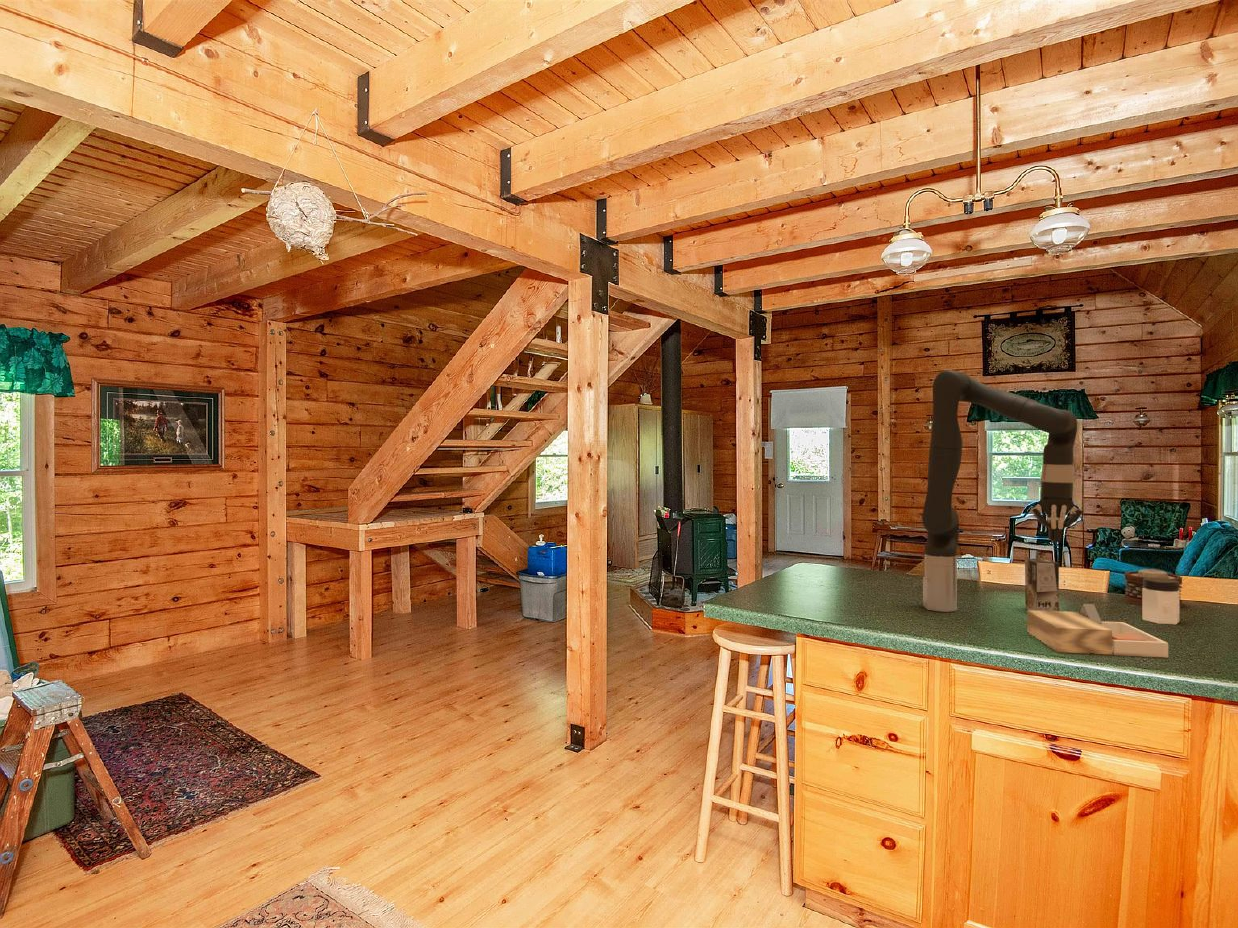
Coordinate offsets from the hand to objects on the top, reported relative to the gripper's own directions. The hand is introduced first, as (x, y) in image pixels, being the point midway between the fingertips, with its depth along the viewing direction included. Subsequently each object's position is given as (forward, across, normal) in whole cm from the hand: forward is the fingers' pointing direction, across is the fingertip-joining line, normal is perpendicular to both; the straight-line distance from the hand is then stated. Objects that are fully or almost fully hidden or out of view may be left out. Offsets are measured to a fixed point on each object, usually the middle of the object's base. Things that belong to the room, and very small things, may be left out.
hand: (1054, 541), depth 188 cm
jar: (+24, +33, +13) cm, 43 cm away
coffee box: (+25, +4, +19) cm, 31 cm away
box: (+24, +10, -16) cm, 30 cm away
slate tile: (+19, +4, -10) cm, 22 cm away
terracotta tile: (+21, +10, -19) cm, 30 cm away
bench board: (+24, -2, -16) cm, 29 cm away
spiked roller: (+24, +43, +38) cm, 62 cm away
